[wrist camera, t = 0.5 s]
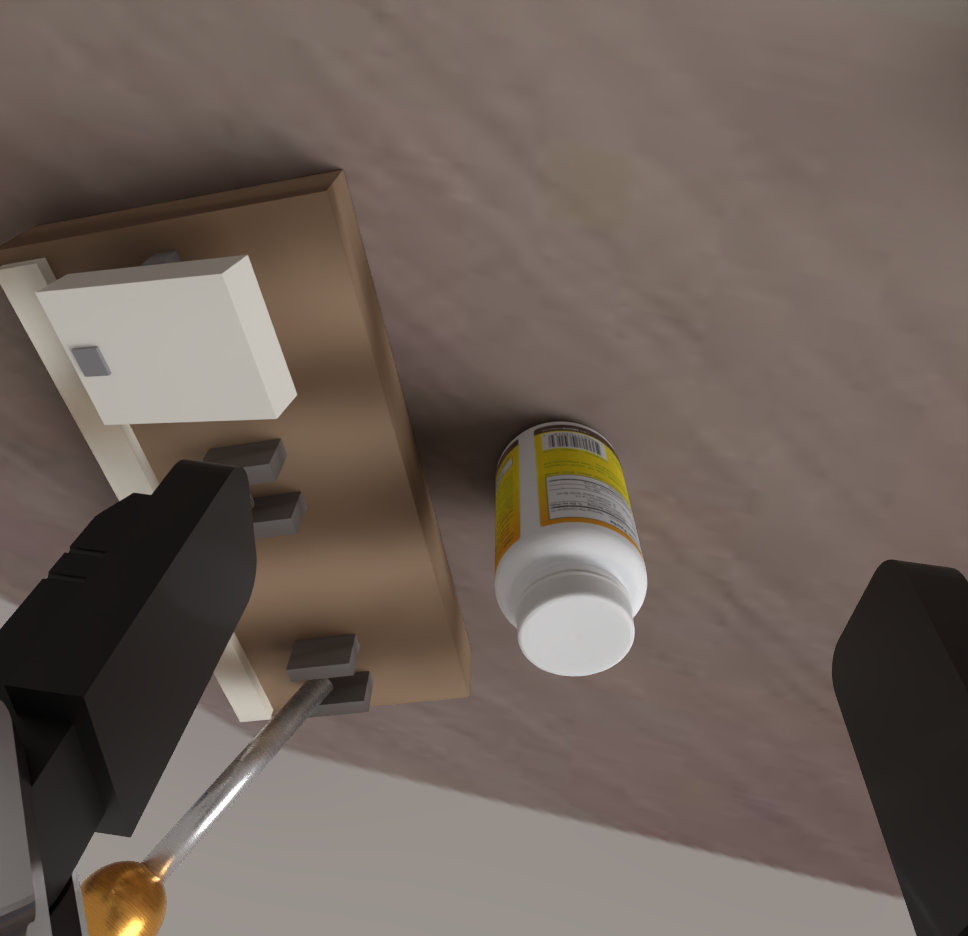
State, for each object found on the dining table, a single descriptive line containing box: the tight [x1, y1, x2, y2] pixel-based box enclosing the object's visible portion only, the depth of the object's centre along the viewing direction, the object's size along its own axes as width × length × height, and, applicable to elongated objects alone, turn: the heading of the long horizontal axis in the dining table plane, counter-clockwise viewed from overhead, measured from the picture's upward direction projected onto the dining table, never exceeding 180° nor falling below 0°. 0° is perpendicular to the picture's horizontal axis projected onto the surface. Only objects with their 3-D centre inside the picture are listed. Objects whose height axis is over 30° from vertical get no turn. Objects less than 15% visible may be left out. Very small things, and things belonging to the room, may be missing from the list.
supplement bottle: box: [495, 421, 647, 676], centre depth 30 cm, size 6×6×10 cm
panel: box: [0, 170, 472, 722], centre depth 33 cm, size 25×12×5 cm, turn 10°
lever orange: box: [80, 678, 333, 936], centre depth 32 cm, size 3×3×14 cm
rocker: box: [35, 255, 297, 425], centre depth 25 cm, size 5×7×2 cm
